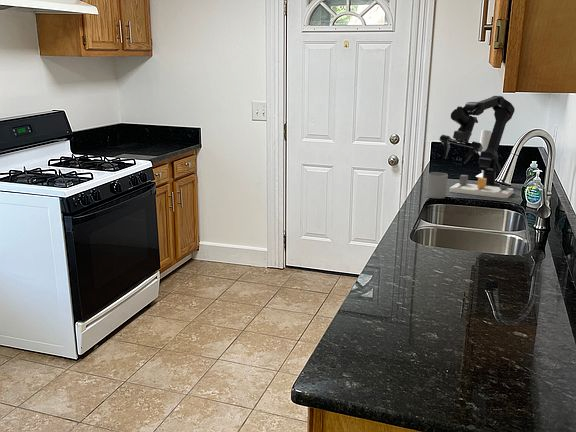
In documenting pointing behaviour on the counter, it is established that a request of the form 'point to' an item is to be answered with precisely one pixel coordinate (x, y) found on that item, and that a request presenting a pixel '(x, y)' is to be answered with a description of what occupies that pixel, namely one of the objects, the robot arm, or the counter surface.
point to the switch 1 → (463, 179)
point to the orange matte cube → (481, 183)
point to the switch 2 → (503, 187)
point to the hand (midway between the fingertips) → (454, 160)
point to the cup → (437, 185)
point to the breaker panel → (481, 190)
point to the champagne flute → (484, 143)
